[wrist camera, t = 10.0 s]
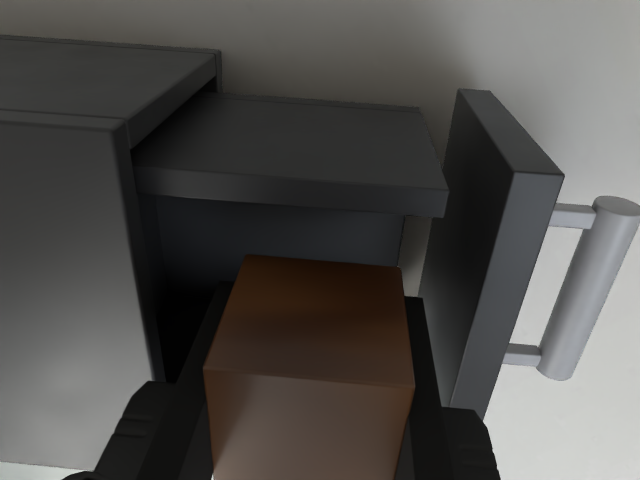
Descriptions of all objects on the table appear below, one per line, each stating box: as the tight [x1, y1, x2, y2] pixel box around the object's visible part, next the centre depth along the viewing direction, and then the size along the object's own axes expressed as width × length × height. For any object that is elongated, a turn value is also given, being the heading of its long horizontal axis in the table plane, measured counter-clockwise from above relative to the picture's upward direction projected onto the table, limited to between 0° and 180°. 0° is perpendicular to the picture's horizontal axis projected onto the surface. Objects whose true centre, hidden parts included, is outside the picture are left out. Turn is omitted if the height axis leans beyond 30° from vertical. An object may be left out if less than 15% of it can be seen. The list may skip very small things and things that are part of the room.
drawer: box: [130, 88, 640, 421], centre depth 18 cm, size 18×11×8 cm, turn 87°
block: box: [203, 254, 415, 480], centre depth 13 cm, size 4×4×4 cm
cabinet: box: [0, 35, 223, 471], centre depth 18 cm, size 15×13×10 cm
